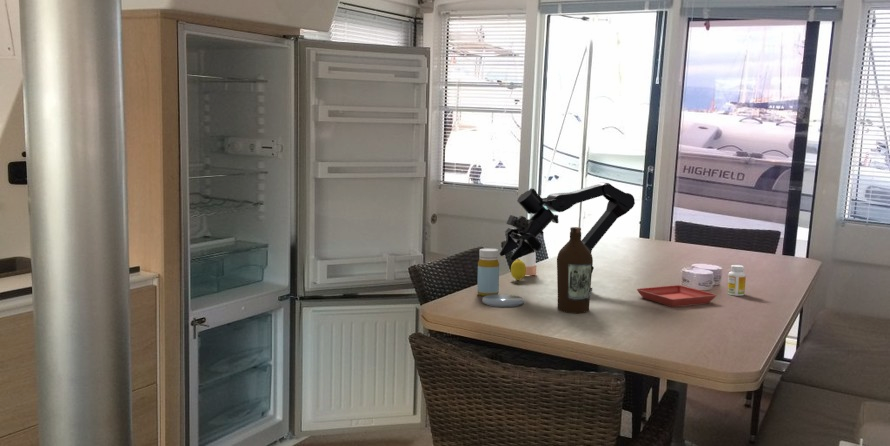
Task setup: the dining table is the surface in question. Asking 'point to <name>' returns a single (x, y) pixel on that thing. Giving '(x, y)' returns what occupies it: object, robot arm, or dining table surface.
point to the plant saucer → (676, 295)
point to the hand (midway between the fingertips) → (505, 257)
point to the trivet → (503, 300)
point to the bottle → (488, 272)
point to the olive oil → (574, 275)
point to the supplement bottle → (736, 281)
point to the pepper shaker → (529, 263)
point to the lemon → (518, 269)
